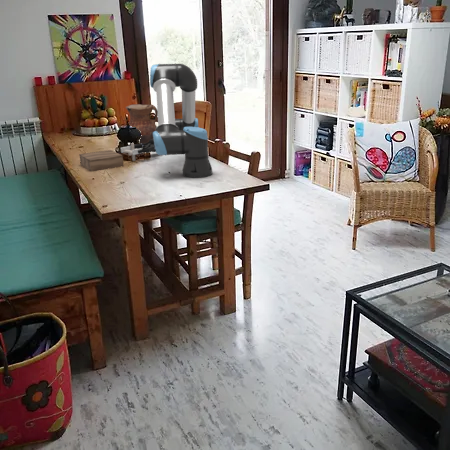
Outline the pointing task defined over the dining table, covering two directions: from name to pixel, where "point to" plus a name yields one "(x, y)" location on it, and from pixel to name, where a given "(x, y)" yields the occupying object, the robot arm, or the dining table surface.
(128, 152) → the pipe connector
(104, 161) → the stand
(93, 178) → the dining table surface
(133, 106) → the jug
